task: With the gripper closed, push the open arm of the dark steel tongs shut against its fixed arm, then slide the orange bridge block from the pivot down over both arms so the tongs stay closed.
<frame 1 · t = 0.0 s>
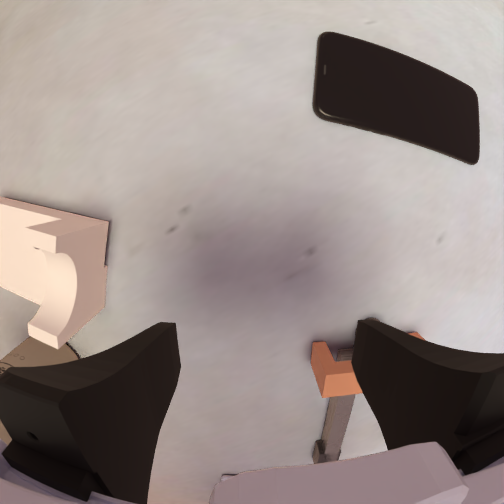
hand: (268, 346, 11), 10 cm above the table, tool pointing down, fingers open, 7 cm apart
orange bridge block: (377, 362, 20), point 3 cm above the table, slide at 0.0 cm
travel mug: (58, 364, 23), on the table
bracket: (49, 246, 21), on the table
smartphone: (407, 99, 19), on the table
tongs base: (368, 331, 22), on the table
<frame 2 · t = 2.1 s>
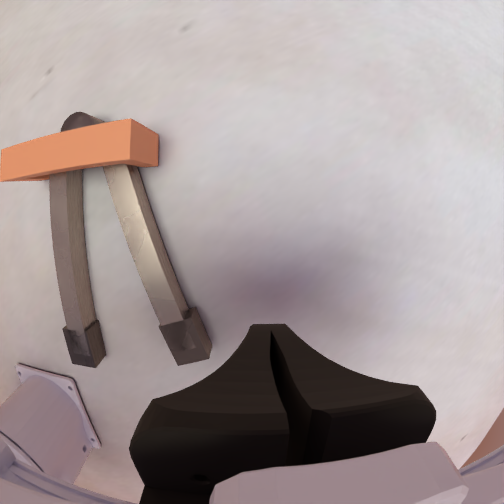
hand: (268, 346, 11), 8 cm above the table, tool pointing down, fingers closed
tong arm: (151, 253, 17), point 1 cm above the table, hinge at 18.0°
orange bridge block: (74, 155, 14), point 3 cm above the table, slide at 0.0 cm
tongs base: (94, 136, 16), on the table
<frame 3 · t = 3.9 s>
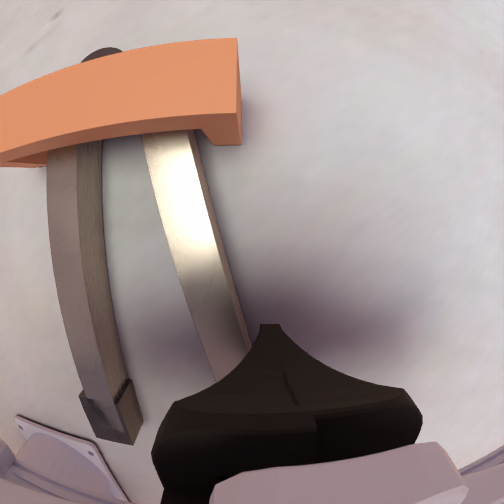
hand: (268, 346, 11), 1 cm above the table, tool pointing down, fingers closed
tong arm: (218, 298, 10), point 1 cm above the table, hinge at 13.9°, touching gripper
orange bridge block: (93, 117, 8), point 3 cm above the table, slide at 0.0 cm
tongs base: (125, 96, 10), on the table
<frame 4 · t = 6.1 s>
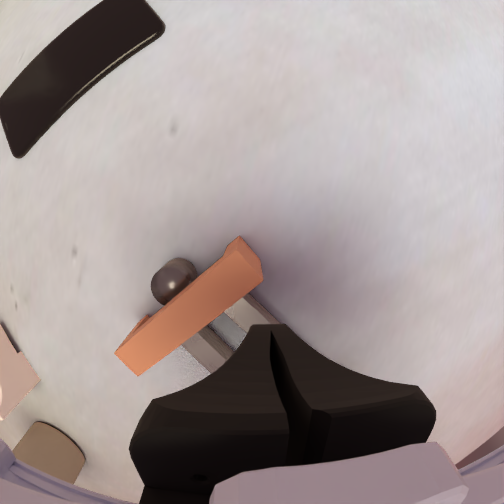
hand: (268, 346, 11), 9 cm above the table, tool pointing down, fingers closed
tong arm: (291, 349, 19), point 1 cm above the table, hinge at 4.4°
orange bridge block: (187, 306, 17), point 3 cm above the table, slide at 0.0 cm
travel mug: (59, 442, 24), on the table
bracket: (1, 362, 22), on the table
smartphone: (70, 67, 16), on the table
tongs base: (179, 275, 19), on the table
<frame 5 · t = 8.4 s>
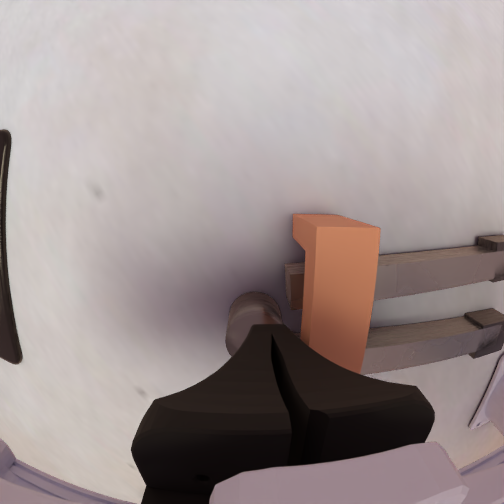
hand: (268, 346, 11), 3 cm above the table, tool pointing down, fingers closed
tong arm: (432, 266, 12), point 1 cm above the table, hinge at 4.4°
orange bridge block: (320, 339, 11), point 3 cm above the table, slide at 1.1 cm, touching gripper
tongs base: (254, 315, 14), on the table
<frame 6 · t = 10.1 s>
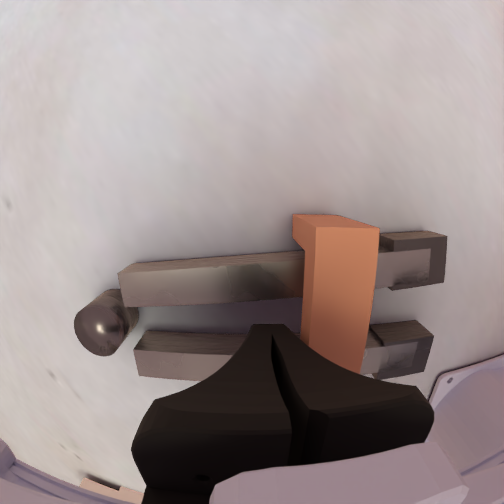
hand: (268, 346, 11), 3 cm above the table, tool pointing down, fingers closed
tong arm: (292, 269, 12), point 1 cm above the table, hinge at 4.4°
orange bridge block: (320, 339, 11), point 3 cm above the table, slide at 8.2 cm, touching gripper
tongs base: (117, 311, 14), on the table
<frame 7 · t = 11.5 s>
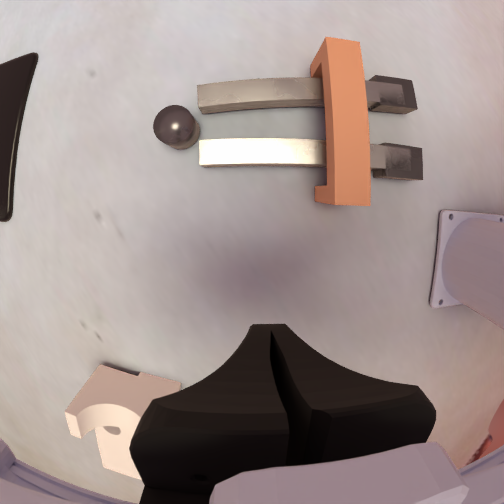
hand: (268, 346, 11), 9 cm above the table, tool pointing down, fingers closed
tong arm: (313, 90, 16), point 1 cm above the table, hinge at 4.4°
orange bridge block: (338, 123, 15), point 3 cm above the table, slide at 8.2 cm
bracket: (141, 418, 23), on the table
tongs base: (182, 132, 18), on the table
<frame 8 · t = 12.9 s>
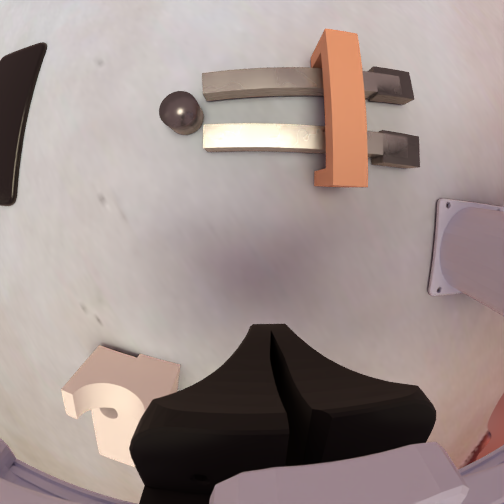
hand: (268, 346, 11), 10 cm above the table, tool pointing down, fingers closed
tong arm: (313, 80, 17), point 1 cm above the table, hinge at 4.4°
orange bridge block: (337, 110, 16), point 3 cm above the table, slide at 8.2 cm
bracket: (139, 403, 24), on the table
smartphone: (6, 123, 18), on the table
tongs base: (186, 118, 18), on the table
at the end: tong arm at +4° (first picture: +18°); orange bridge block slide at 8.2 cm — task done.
